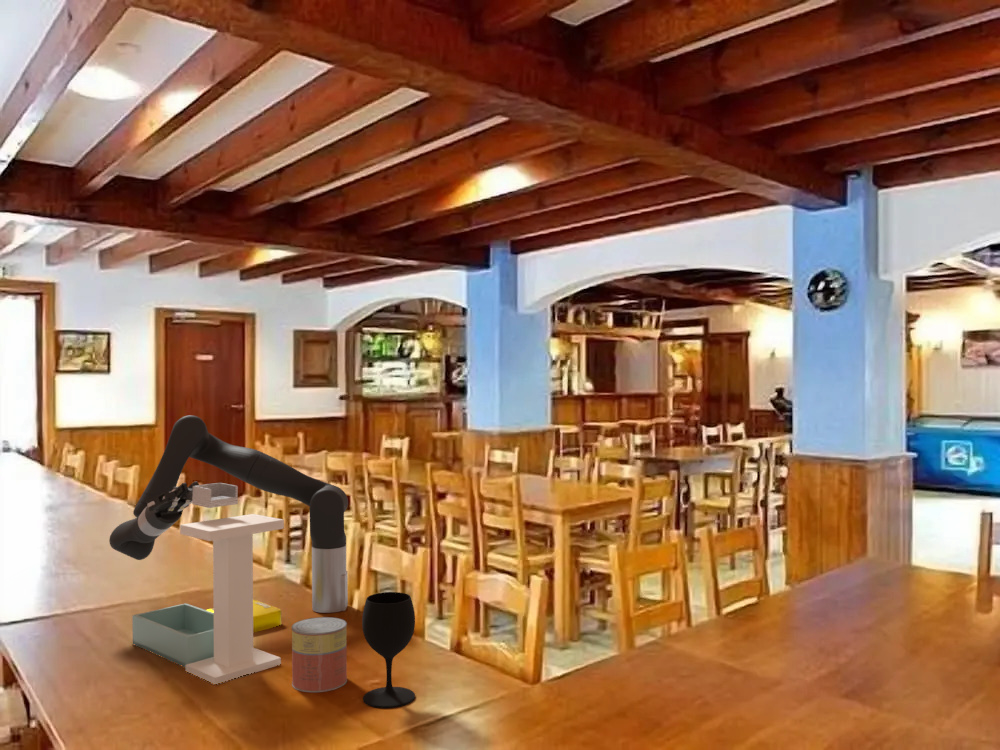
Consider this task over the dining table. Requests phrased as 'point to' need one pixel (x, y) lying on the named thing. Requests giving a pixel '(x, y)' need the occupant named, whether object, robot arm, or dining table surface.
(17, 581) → the dining table surface
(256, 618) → the element tile
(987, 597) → the dining table surface
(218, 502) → the brushed metal dustpan
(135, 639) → the bin
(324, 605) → the robot arm
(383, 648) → the wine glass
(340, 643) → the canned food
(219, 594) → the white i-beam pedestal
